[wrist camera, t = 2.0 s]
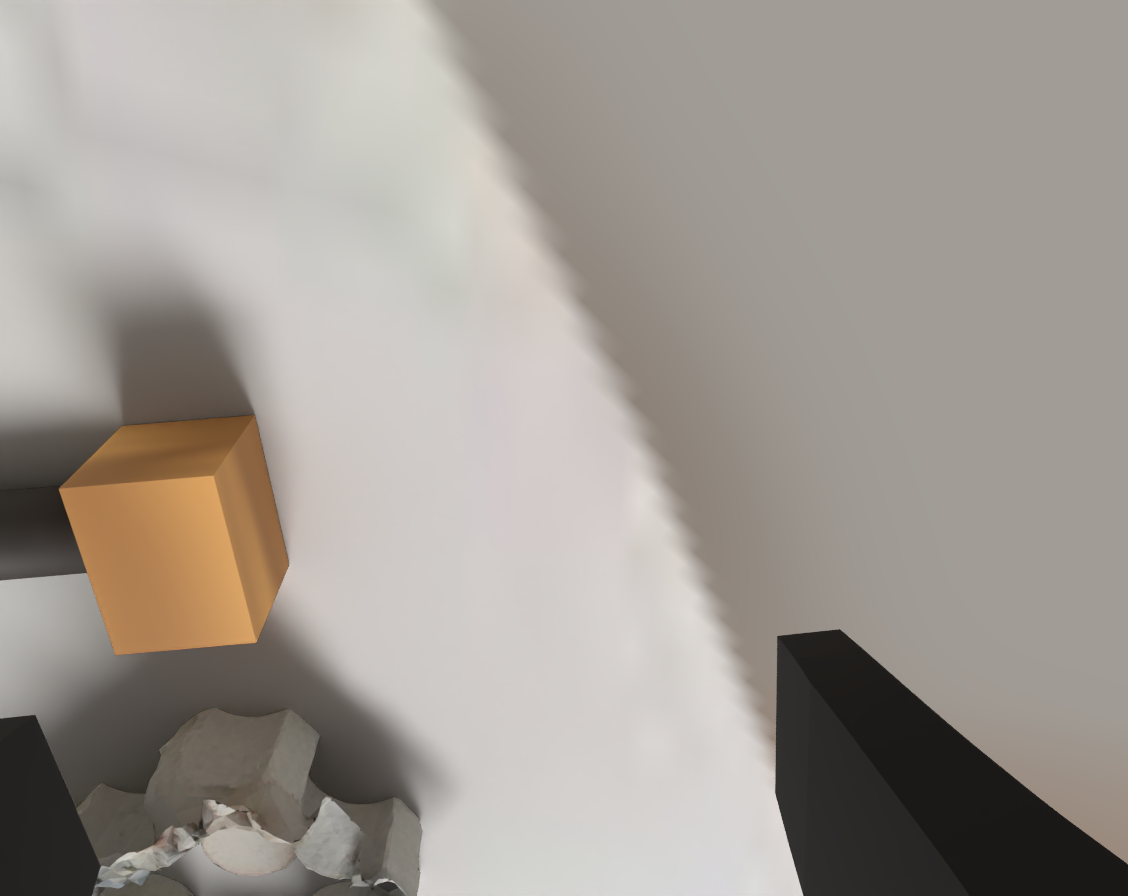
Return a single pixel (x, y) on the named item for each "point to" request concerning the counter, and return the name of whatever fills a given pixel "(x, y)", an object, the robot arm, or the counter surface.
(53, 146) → the counter surface
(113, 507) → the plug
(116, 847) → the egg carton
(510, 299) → the counter surface
